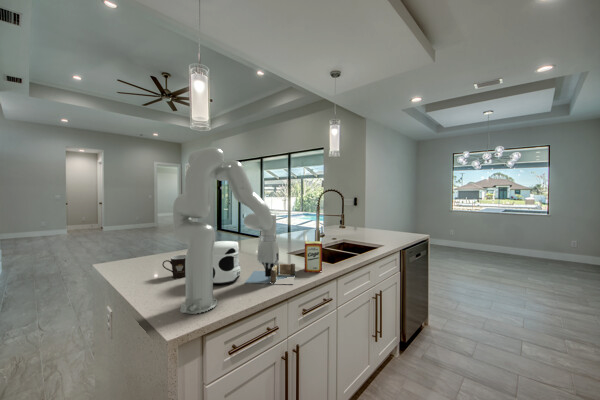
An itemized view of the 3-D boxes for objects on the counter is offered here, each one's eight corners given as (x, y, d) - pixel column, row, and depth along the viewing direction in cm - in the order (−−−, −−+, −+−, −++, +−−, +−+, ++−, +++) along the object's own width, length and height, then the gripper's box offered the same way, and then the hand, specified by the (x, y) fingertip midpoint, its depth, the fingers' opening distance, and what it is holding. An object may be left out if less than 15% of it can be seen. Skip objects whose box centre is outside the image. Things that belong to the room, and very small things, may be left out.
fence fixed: (295, 275, 129) (295, 263, 129) (294, 276, 127) (294, 264, 127) (274, 274, 130) (274, 263, 130) (273, 275, 128) (273, 264, 128)
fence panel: (273, 274, 127) (273, 264, 127) (278, 275, 127) (278, 264, 127) (270, 282, 116) (270, 271, 116) (275, 282, 116) (275, 271, 116)
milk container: (201, 277, 124) (201, 242, 124) (236, 273, 132) (236, 239, 132) (205, 289, 109) (205, 249, 108) (244, 283, 117) (244, 245, 116)
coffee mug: (192, 274, 130) (192, 255, 130) (183, 279, 121) (183, 259, 121) (171, 273, 131) (171, 254, 131) (161, 278, 122) (161, 258, 122)
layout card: (293, 284, 115) (293, 283, 115) (244, 283, 117) (244, 282, 117) (296, 272, 133) (296, 271, 133) (254, 271, 135) (254, 270, 135)
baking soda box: (304, 272, 134) (304, 242, 134) (304, 268, 141) (304, 240, 141) (322, 272, 134) (322, 243, 134) (321, 268, 141) (321, 240, 141)
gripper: (251, 238, 120) (251, 275, 120) (277, 241, 113) (277, 280, 113) (260, 235, 127) (260, 271, 127) (285, 238, 119) (285, 276, 120)
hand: (268, 275), depth 120 cm, fingers closed
